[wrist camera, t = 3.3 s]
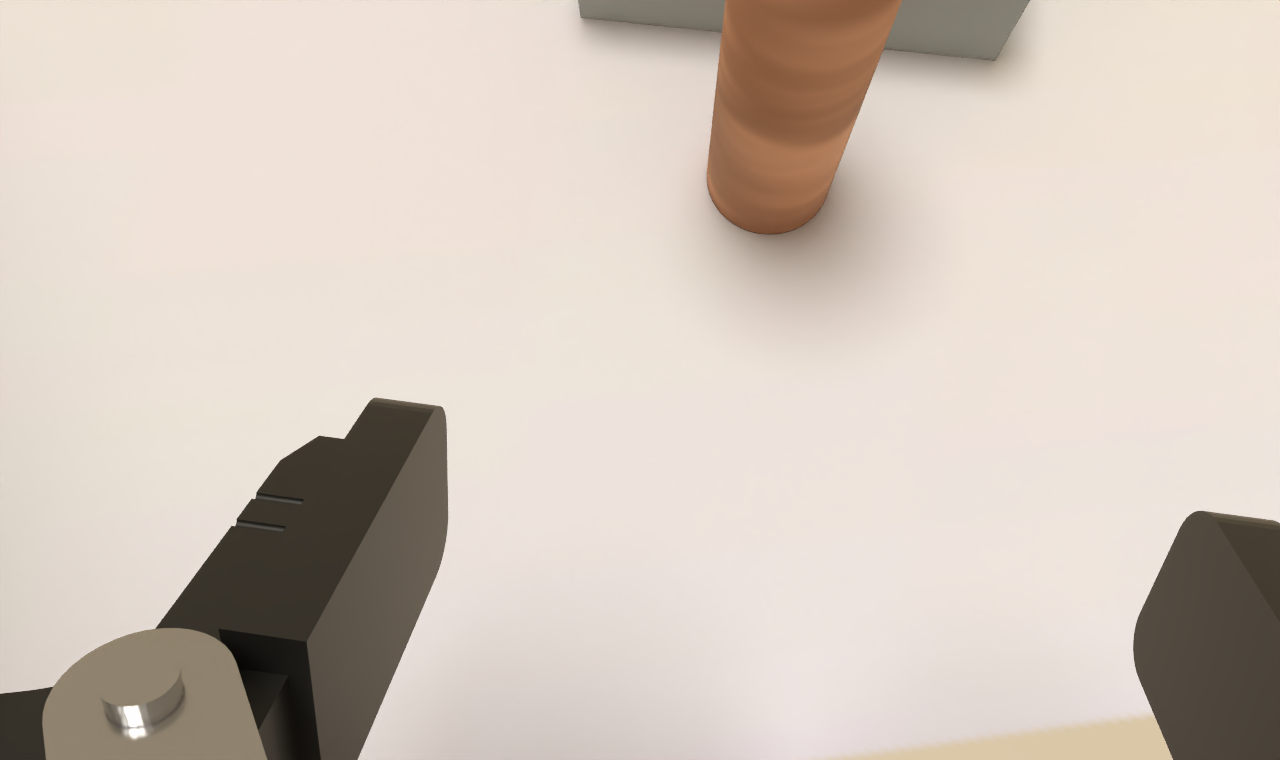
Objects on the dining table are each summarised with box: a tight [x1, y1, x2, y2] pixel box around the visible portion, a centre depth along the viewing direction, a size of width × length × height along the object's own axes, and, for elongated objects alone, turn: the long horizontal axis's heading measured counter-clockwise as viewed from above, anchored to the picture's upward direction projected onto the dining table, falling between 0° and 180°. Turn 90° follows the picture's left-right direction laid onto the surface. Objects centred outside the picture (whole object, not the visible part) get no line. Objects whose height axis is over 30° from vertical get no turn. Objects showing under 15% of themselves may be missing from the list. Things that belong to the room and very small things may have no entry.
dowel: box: [707, 0, 902, 234], centre depth 23 cm, size 3×3×10 cm
